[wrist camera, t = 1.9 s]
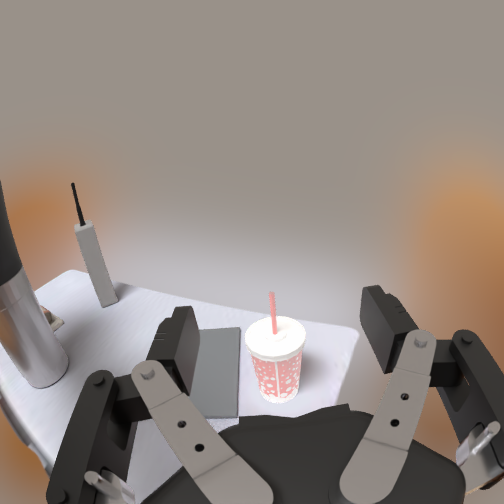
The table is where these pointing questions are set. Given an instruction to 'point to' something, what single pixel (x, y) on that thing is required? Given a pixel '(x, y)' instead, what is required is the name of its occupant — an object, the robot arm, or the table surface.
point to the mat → (217, 373)
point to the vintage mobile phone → (94, 258)
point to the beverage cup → (276, 354)
